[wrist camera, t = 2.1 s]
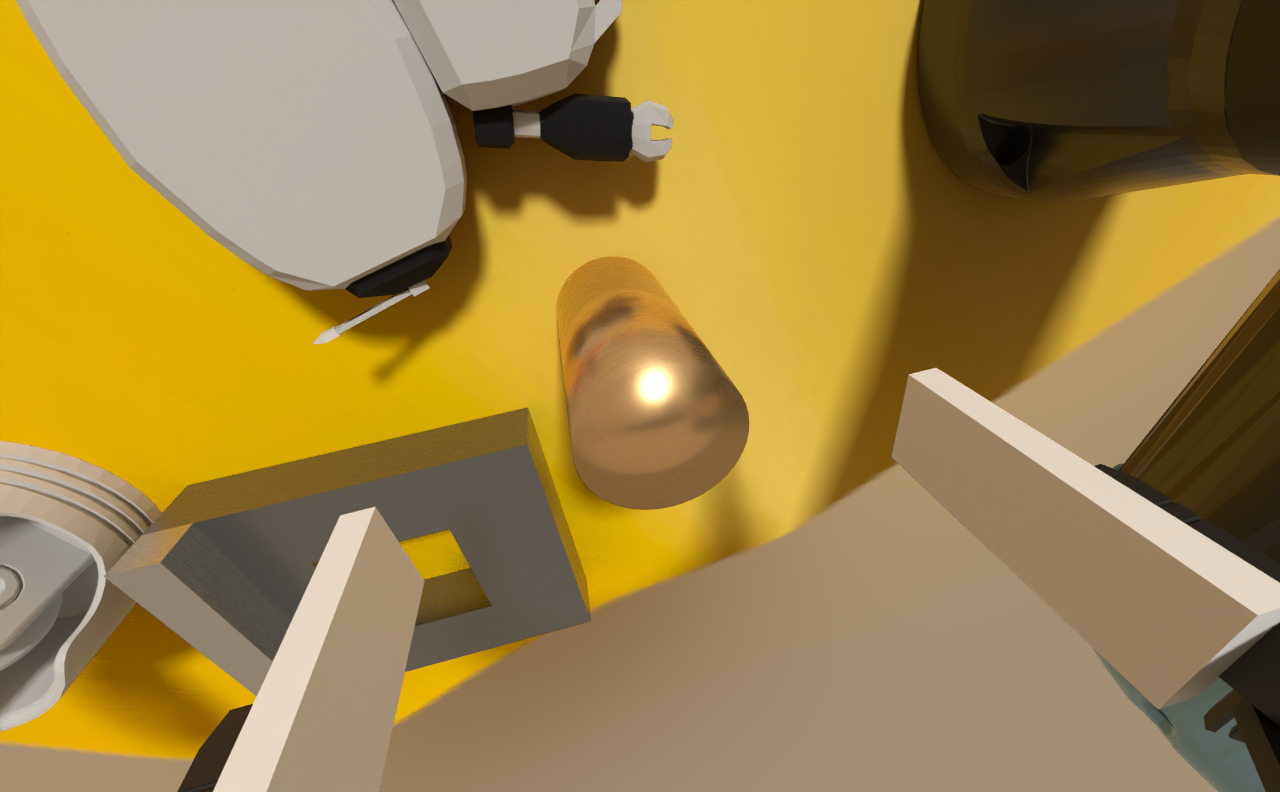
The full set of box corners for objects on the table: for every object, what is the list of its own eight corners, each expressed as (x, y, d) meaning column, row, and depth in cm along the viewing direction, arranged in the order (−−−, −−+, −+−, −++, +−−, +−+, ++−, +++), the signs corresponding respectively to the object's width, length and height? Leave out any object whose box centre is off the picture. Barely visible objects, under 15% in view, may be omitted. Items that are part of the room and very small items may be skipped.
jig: (527, 407, 23) (526, 474, 19) (586, 579, 30) (594, 653, 26) (187, 485, 21) (103, 576, 17) (338, 644, 29) (305, 734, 25)
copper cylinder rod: (657, 246, 20) (747, 343, 12) (670, 348, 23) (750, 486, 14) (543, 269, 19) (551, 388, 11) (570, 370, 22) (592, 526, 14)
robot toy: (515, -319, 12) (-3, -83, 12) (524, -518, 9) (-234, -181, 8) (666, 157, 19) (337, 316, 19) (707, 164, 15) (296, 363, 15)
